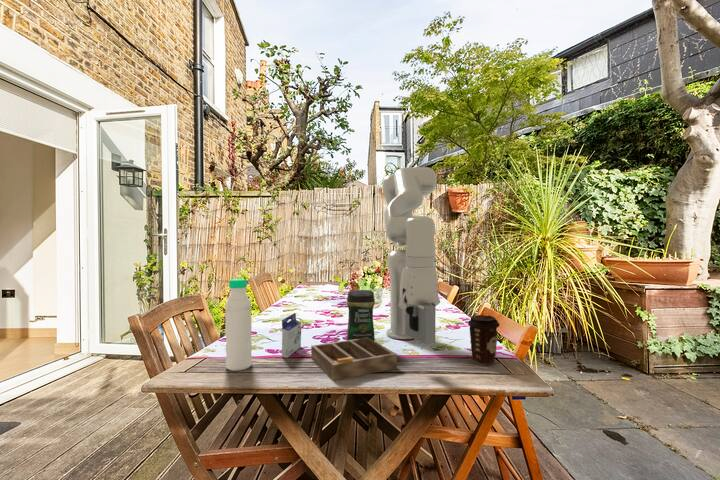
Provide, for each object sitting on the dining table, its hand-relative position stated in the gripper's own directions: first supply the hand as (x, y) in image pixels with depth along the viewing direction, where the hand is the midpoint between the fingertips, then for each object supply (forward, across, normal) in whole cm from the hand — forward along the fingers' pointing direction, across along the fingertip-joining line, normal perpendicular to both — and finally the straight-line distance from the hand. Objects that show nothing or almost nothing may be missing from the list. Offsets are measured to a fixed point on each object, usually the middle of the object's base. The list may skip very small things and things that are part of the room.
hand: (419, 328), depth 99 cm
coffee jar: (+13, +5, -28) cm, 31 cm away
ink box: (+13, +28, -31) cm, 43 cm away
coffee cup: (+12, -20, +3) cm, 24 cm away
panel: (+3, 0, 0) cm, 3 cm away
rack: (+12, +15, -13) cm, 23 cm away
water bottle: (+12, +45, -25) cm, 52 cm away
